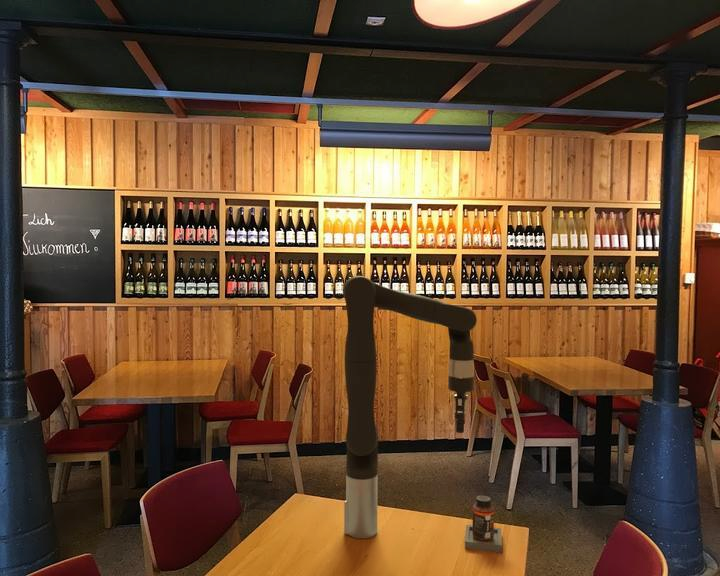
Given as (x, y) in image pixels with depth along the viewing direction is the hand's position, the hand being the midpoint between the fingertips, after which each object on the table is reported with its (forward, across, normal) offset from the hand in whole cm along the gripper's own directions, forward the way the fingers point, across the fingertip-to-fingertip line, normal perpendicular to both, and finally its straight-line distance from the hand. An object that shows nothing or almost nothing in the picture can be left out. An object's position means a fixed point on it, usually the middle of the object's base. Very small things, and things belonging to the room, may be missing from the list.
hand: (460, 428), depth 165 cm
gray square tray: (+30, +7, +7) cm, 32 cm away
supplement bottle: (+29, +7, +7) cm, 31 cm away
